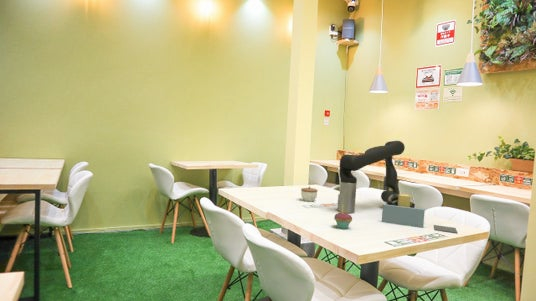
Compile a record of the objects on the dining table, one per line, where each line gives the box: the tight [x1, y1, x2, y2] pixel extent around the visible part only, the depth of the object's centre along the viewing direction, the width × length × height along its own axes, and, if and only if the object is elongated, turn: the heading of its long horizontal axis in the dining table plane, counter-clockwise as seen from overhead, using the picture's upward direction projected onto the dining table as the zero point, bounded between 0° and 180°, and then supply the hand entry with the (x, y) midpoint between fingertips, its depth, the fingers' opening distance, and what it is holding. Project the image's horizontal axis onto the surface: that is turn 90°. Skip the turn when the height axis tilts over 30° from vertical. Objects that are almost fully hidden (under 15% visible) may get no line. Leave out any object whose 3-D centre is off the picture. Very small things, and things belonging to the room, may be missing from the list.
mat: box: [433, 224, 458, 234], centre depth 175 cm, size 10×10×1 cm
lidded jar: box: [300, 186, 318, 203], centre depth 232 cm, size 11×11×9 cm
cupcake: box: [333, 203, 353, 230], centre depth 168 cm, size 9×8×12 cm
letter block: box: [398, 193, 412, 207], centre depth 188 cm, size 5×5×14 cm
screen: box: [381, 204, 426, 229], centre depth 181 cm, size 20×2×9 cm, turn 67°
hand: (403, 206), depth 188 cm, fingers open, 8 cm apart
